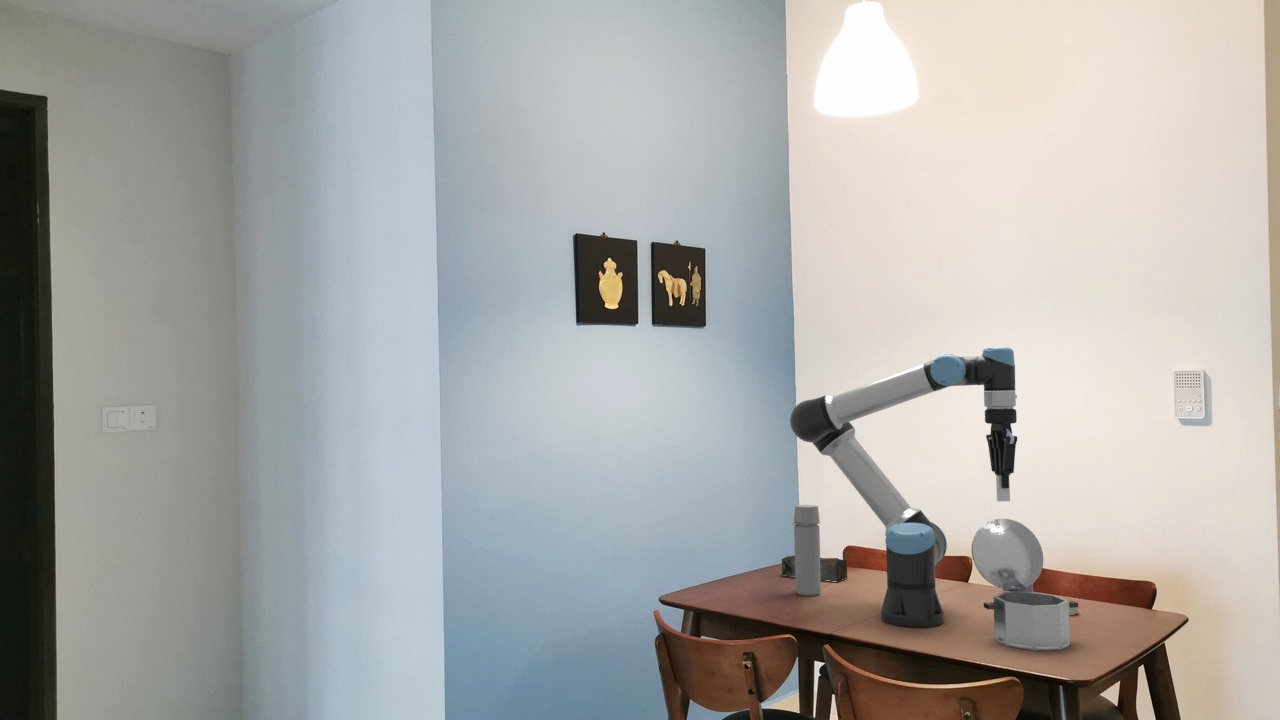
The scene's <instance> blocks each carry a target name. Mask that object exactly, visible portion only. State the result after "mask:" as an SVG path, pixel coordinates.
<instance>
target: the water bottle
mask: <svg viewBox="0 0 1280 720" xmlns="http://www.w3.org/2000/svg"><path fill="white" fill-rule="evenodd" d="M820 523H821V520H820V513H819V505H816V504H797V505H794V517H793V522H792V523H791V525H794V526H793V529H794V530H793V532H794V535H793V536H794V556H795V578H794V579H795V581H794V583H795V584H794V585H795V586H794V589H795V590H794V591H795V593H796V594H797V595H800V596H802V595H803V597H814V596H815V595H816V596H818V595H820V594H821V592H822V589H821V588H822V586H821V584H822V583H821V582H822V581H821V575H820V558H821V536H820V535H821V534H820V525H819V524H820Z"/></svg>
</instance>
